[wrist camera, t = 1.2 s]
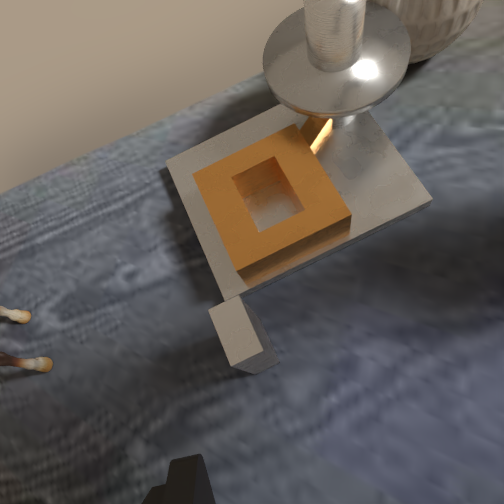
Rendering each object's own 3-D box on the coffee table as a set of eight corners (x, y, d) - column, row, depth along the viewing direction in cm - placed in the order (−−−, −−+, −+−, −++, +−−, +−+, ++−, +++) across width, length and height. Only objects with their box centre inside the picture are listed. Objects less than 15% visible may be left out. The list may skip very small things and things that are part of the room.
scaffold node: (356, 56, 47) (367, -94, 33) (461, 190, 39) (537, 70, 25) (163, 152, 47) (90, 45, 33) (228, 304, 40) (170, 251, 25)
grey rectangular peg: (260, 319, 38) (238, 294, 29) (280, 362, 37) (263, 350, 28) (237, 331, 38) (207, 310, 29) (255, 374, 37) (230, 366, 28)
